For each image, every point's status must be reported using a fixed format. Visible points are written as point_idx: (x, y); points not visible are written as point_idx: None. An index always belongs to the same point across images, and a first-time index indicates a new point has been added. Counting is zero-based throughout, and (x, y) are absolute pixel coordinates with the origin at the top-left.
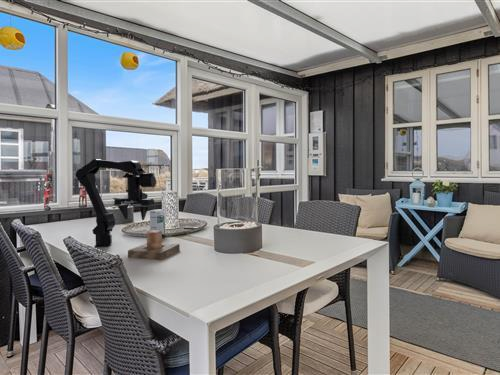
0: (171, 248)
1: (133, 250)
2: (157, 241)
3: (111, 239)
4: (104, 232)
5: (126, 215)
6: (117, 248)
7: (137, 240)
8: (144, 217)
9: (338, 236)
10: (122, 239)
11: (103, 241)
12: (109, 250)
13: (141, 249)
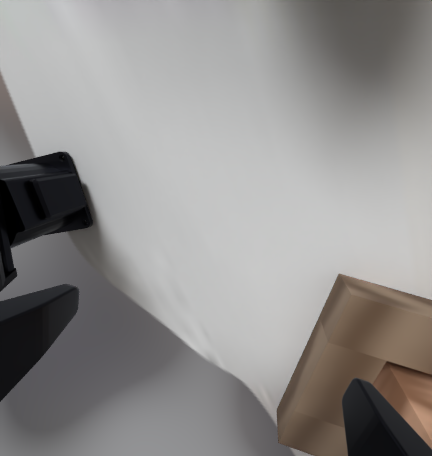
0: None
1: (308, 450)
2: None
3: (63, 187)
4: (3, 253)
5: (29, 343)
6: (160, 264)
7: (188, 41)
8: (396, 428)
9: None
10: (65, 13)
11: (48, 232)
12: (142, 298)
13: (345, 442)
